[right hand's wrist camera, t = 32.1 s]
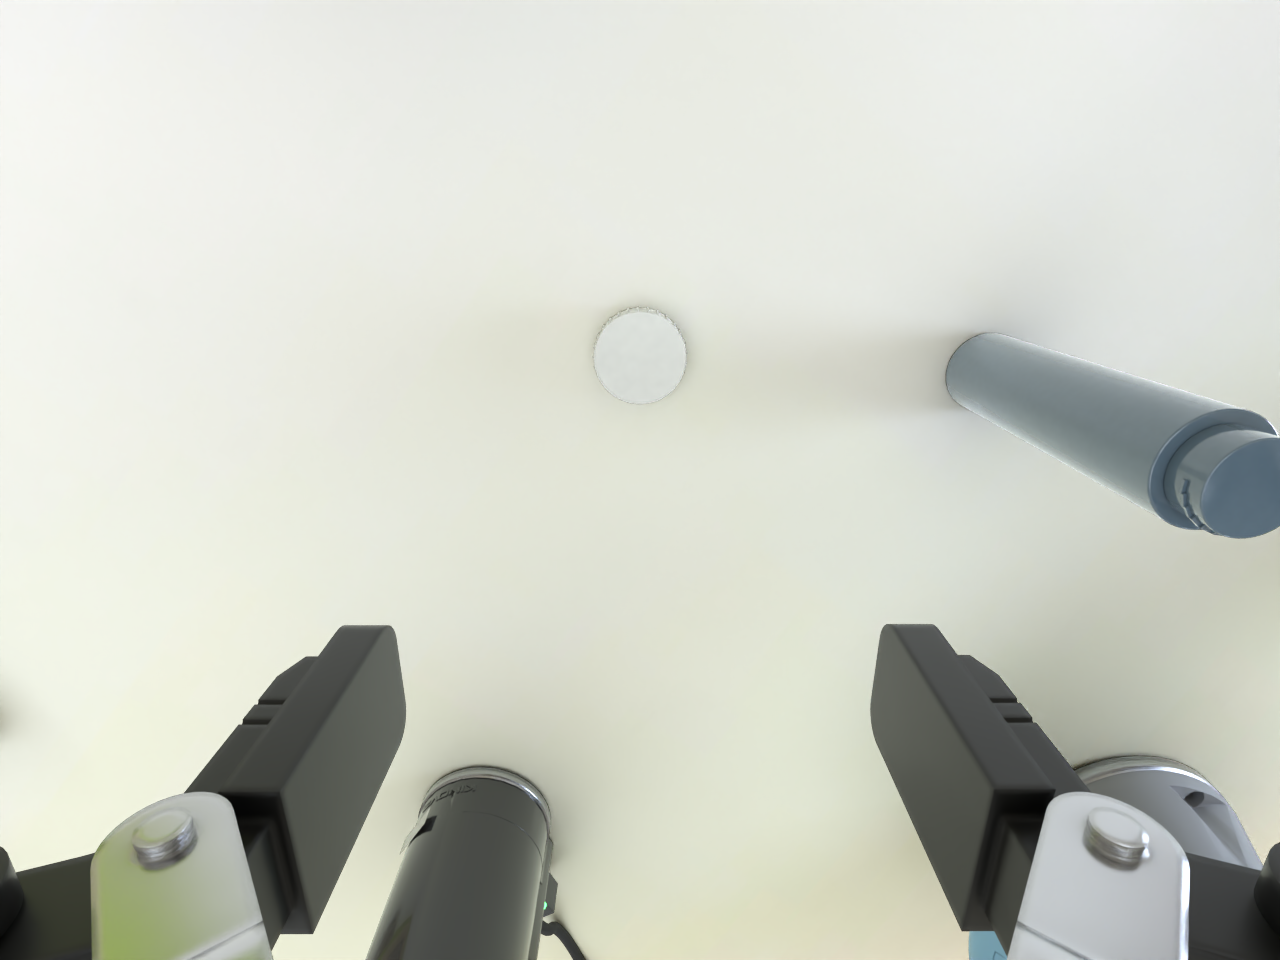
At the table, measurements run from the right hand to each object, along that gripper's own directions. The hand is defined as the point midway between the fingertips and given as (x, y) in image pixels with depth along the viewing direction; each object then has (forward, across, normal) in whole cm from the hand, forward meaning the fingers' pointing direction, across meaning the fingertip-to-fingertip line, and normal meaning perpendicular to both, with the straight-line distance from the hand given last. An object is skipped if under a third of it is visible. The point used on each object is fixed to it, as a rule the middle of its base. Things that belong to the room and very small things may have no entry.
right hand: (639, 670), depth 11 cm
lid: (+28, 0, 0) cm, 28 cm away
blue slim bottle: (+29, +20, -1) cm, 35 cm away
